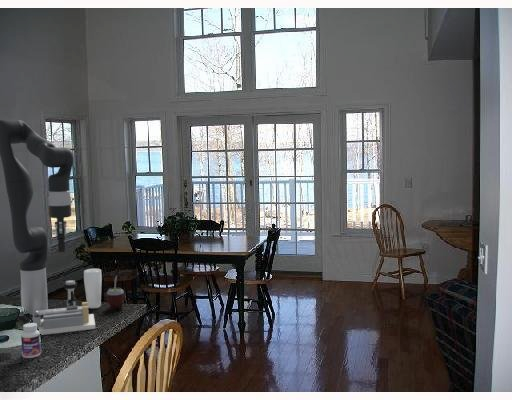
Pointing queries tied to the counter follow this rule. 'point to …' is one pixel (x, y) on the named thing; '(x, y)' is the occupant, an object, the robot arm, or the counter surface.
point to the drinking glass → (93, 287)
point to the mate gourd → (115, 297)
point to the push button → (70, 292)
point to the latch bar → (58, 310)
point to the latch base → (65, 321)
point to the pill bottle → (30, 341)
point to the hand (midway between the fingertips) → (61, 251)
